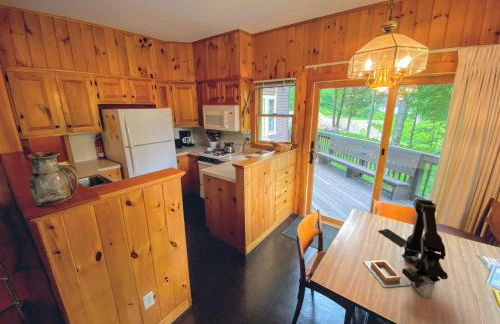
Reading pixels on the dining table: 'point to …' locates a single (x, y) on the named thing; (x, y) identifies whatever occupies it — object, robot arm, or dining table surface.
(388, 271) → the end holder
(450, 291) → the dining table surface
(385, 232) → the cell phone
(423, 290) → the medicine box
